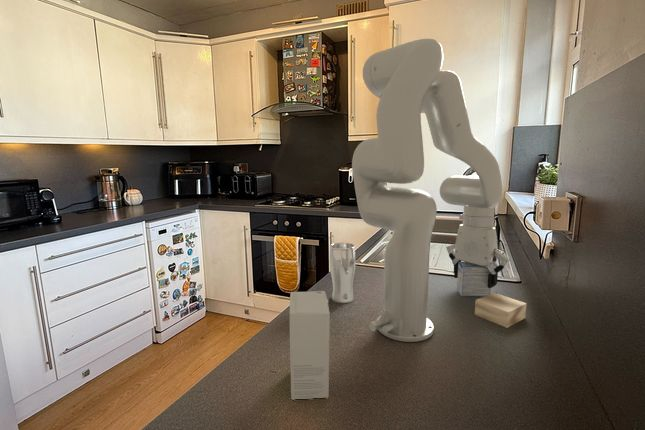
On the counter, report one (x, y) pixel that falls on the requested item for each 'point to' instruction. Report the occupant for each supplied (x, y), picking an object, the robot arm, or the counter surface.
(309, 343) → the skincare box
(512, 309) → the oak block
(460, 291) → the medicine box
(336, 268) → the beer glass
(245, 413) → the counter surface
